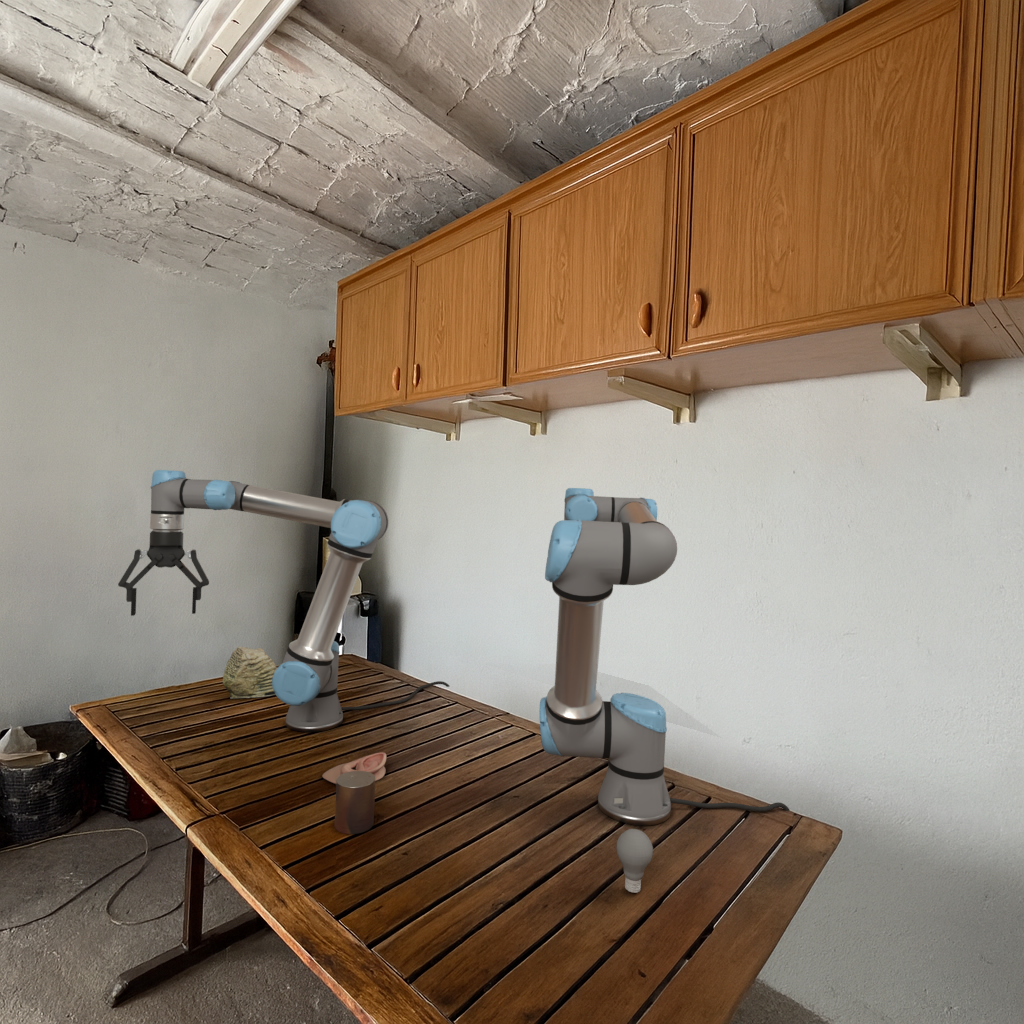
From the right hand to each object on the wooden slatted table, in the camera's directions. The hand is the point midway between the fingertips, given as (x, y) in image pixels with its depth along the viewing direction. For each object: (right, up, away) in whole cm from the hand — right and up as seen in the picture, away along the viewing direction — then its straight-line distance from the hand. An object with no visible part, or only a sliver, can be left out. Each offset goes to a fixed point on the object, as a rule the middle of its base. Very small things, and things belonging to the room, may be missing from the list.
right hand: (573, 627), depth 167 cm
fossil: (-97, -27, +31) cm, 105 cm away
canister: (-47, -30, -44) cm, 71 cm away
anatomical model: (-52, -30, -22) cm, 64 cm away
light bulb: (+4, -33, -61) cm, 70 cm away
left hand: (-105, +4, -5) cm, 105 cm away
